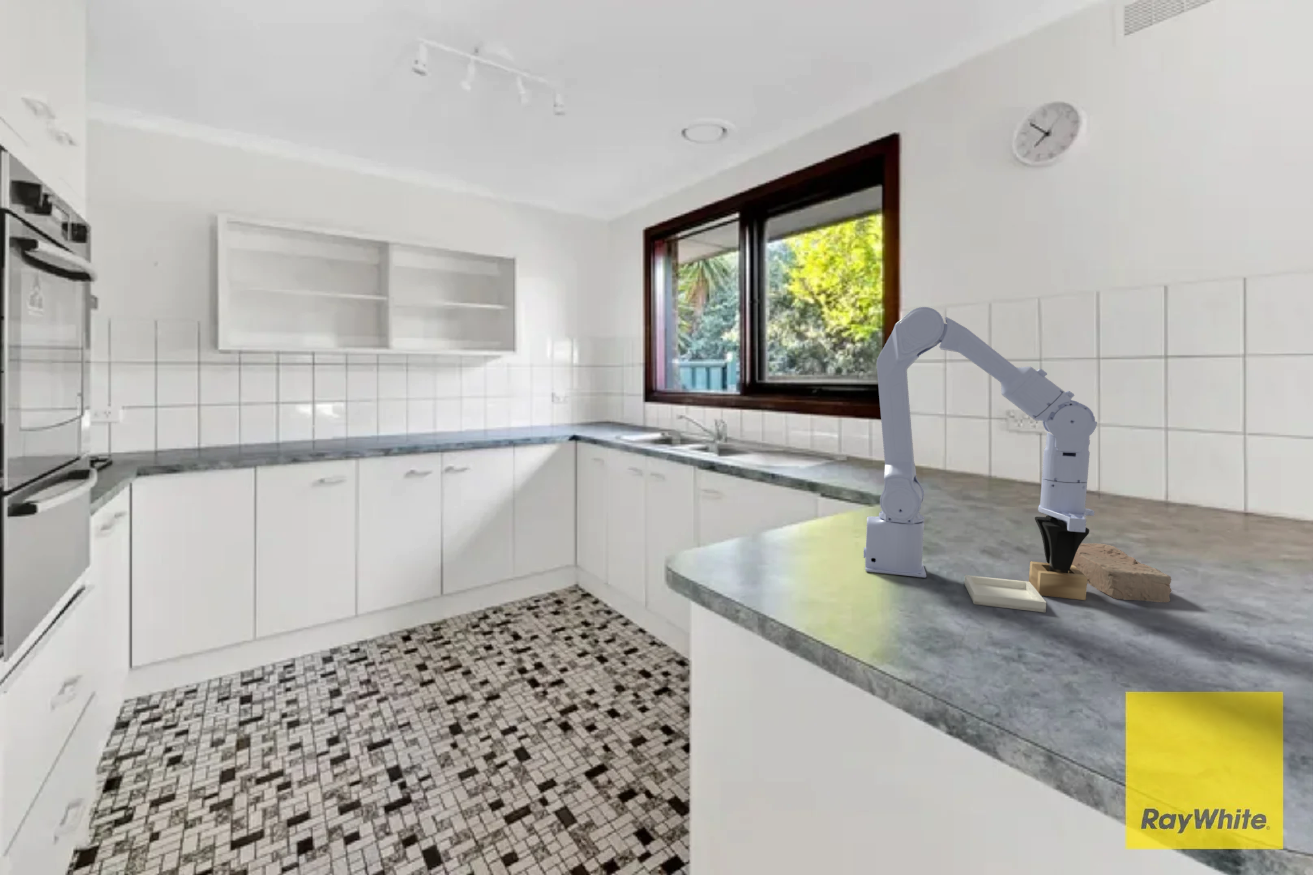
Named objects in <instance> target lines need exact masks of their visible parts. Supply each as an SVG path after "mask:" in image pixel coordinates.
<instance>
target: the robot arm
mask: <svg viewBox="0 0 1313 875" xmlns="http://www.w3.org/2000/svg"><path fill="white" fill-rule="evenodd" d="M944 319H945V322H944ZM937 345H939V349H940V350H942V351H947V352H948V351H949V352H955V353H959V354H960V355H961V356H963V357H965V359H967V360H969V361H970V362H971V363H973V364H975V365H976V366H978V368H980V369H981V370H983V371H984V372H986V373H987V374H989V375H990V376H991V377H992V378H994V379H995V380H997V381H998V382H1000V391H1001V392H1000V393H1001V396H1002V397H1004V398H1005V399H1006V400H1008V401H1009V402H1010V403H1012V404H1013V405H1014V406H1016V407H1017V408H1018V409H1019V410H1021V411H1022V412H1024V413H1025V414H1026V415H1028V417H1030V418H1031V419H1033V420H1034V421H1036V422H1037V421H1039V422H1040V421H1041V422H1042V425H1043V428H1044V430H1045V431H1046V432H1047V433H1046V438H1045V448H1044V449H1043V457H1042V458H1043V459H1042V460H1043V461H1042V472H1041V474H1042V475H1041V486H1040V488H1041V489H1040V499H1039V501H1040V502H1039V505H1038V507H1037V511H1038V513H1041V514H1044V515H1045V516H1035V517H1034V521H1035V522H1036V525H1037V527H1038V529H1039V533H1040V535H1041V540H1042V544H1043V550H1044V557H1045V560H1046V563H1049V564H1050V558H1051V565H1052V568H1053V569H1056V570H1066V571H1069V570H1070V568H1071V565H1072V563H1073V560H1074V557H1075V554H1076V552H1077V550H1078V548H1079V546H1080V544H1081V543H1082V542H1083V541H1084V540H1085V539H1086V538H1087V536H1088V535H1089V534H1090V528H1088V527H1087V519H1086V518H1087V516H1092V517H1094V516H1095V510H1093V509H1092V508H1091V509H1090V508H1086V505H1087V504H1086V502H1087V500H1086V499H1087V490H1088V489H1087V488H1088V481H1089V480H1088V478H1089V477H1088V476H1089V467H1090V465H1089V464H1090V453H1091V452H1090V450H1089V449H1090V443H1091V440H1090V438H1091V437H1090V436H1091V435H1092V434H1094V432H1095V431H1096V428H1097V425H1098V422H1097V421H1096V418H1095V416H1094V412H1093V411H1092V409H1091V408H1090V407H1088V406H1087V405H1085V404H1083V403H1081V402H1079V401H1076V400H1072V398H1074V396H1075V394H1074V393H1073V392H1071V391H1070V390H1067V391H1065V390H1063V389H1062V388H1061V387H1059V386H1058V385H1057V384H1056V383H1054V382H1053V381H1051V380H1049V379H1048V378H1047V377H1046V376H1047V375H1048V372H1046V371H1045V370H1044V369H1042V368H1038V369H1037V370H1036V369H1035V368H1034V367H1033V366H1021V367H1017V366H1015V365H1014V364H1012V362H1010V361H1008V359H1006V358H1005V357H1004V356H1002V354H1000V353H999V352H997V351H996V350H995V349H993V348H992V347H991V346H990V345H989V344H987V343H986V342H985V341H984V340H983V339H981V338H980V337H979V336H978V335H976V334H975V333H973V332H972V331H971V330H970V329H969V328H967V327H965V326H964V325H961V323H958V322H956V321H955V320H953V319H952V318H950V317H947V316H944V318H943V316H942V314H941V313H940V312H939V311H938V310H936V309H935V308H931V307H929V306H920V307H916V308H914V309H912V310H909V312H907V314H905V315H904V316H903V317H902V318H901V319H900V320H899V321H897V322H896V323H895V324H894V326H893V330H892V331H891V334H890V335H889V337H888V338H887V340H886V343H885V344H884V347H882V349H881V351H880V353H879V355H878V357H877V359H876V372H877V374H876V375H877V382H878V384H877V386H878V396H879V397H878V398H879V408H880V409H879V410H880V418H881V420H880V421H881V432H882V433H881V434H882V443H883V455H884V458H883V459H884V470H883V472H884V475H883V480H884V481H883V484H884V487H883V490H882V493H881V495H880V497H879V506H880V508H881V510H880V511H879V513H878V516H867V517H866V533H865V534H866V535H865V536H866V537H865V546H864V547H863V558H864V559H865V562H864V563H865V564H864V565H865V566H864V567H865V569H864V570H865V572H869V573H876V574H879V573H880V574H886V575H887V574H888V575H898V576H906V577H907V576H908V577H915V578H916V577H917V578H927V572H926V570H925V566H924V562H923V550H924V535H925V534H924V532H925V530H924V529H925V516H924V515H923V514H921V512H920V510H921V507H922V502H923V500H924V496H925V494H924V488H923V486H922V485H921V483H920V481H919V480H918V477H917V469H916V468H917V467H916V464H915V456H914V443H913V442H914V441H913V432H912V431H913V430H912V421H911V420H912V418H911V417H912V416H911V406H910V396H909V395H910V394H909V384H908V382H909V381H908V369H909V368H910V367H911V366H912V364H914V363H915V362H916V360H917V359H919V357H920V356H921V355H923V354H925V353H926V352H929V351H930V350H931V349H934V348H935V347H937Z"/></svg>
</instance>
